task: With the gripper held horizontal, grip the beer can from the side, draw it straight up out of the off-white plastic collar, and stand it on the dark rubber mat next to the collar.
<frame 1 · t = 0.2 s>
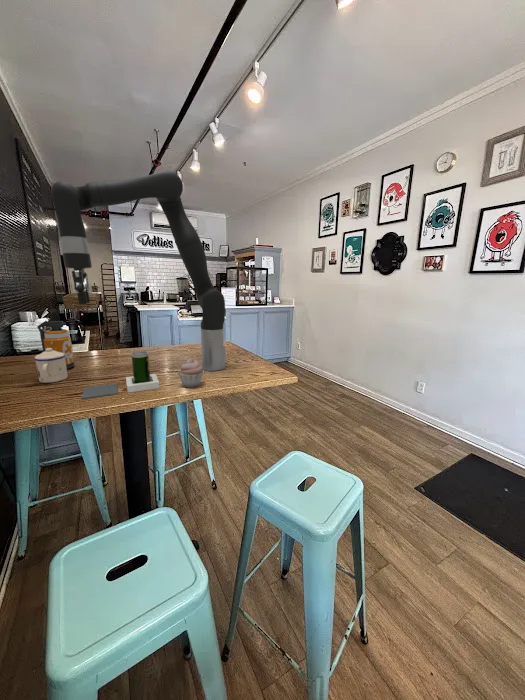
hand: (84, 303, 95), 28 cm above the table, tool pointing down, fingers open, 8 cm apart
canister: (59, 368, 117), on the table
cupcake: (191, 385, 102), on the table
collar: (142, 385, 100), on the table
mat: (100, 391, 94), on the table
beer can: (142, 386, 100), resting in collar
teacup with lid: (52, 380, 104), on the table
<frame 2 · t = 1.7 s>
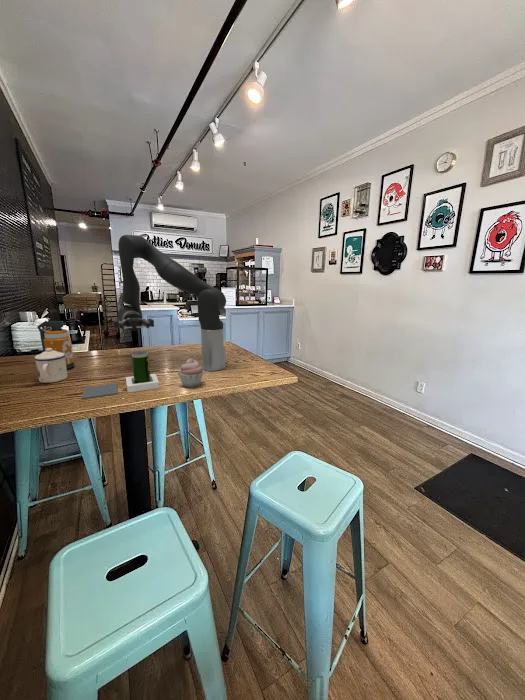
hand: (135, 326, 105), 20 cm above the table, tool horizontal, fingers open, 8 cm apart
nothing on the table moved.
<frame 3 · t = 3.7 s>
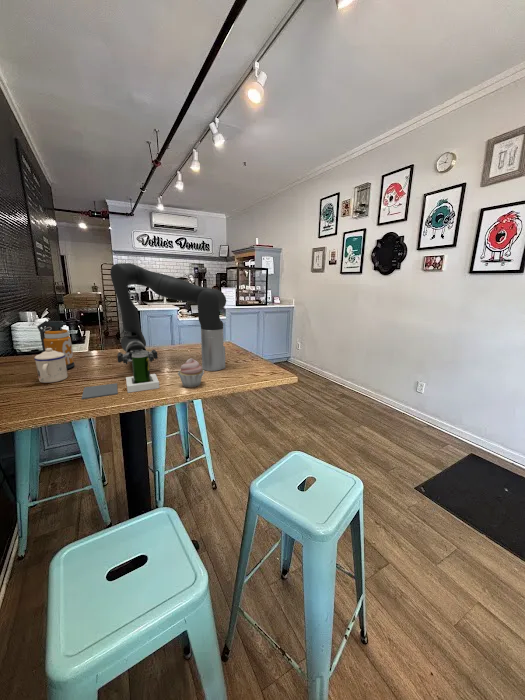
hand: (139, 360, 105), 7 cm above the table, tool horizontal, fingers open, 8 cm apart
nothing on the table moved.
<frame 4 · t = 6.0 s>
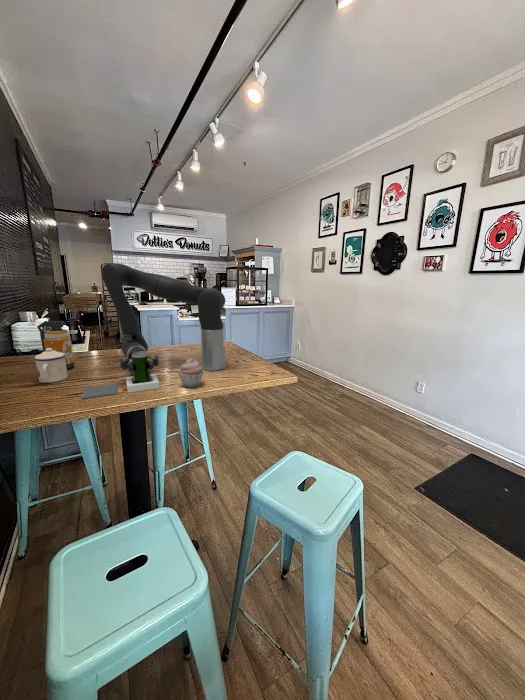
hand: (141, 368, 96), 7 cm above the table, tool horizontal, fingers closed on beer can, 5 cm apart
beer can: (142, 386, 100), resting in collar, touching gripper
everything else where it was.
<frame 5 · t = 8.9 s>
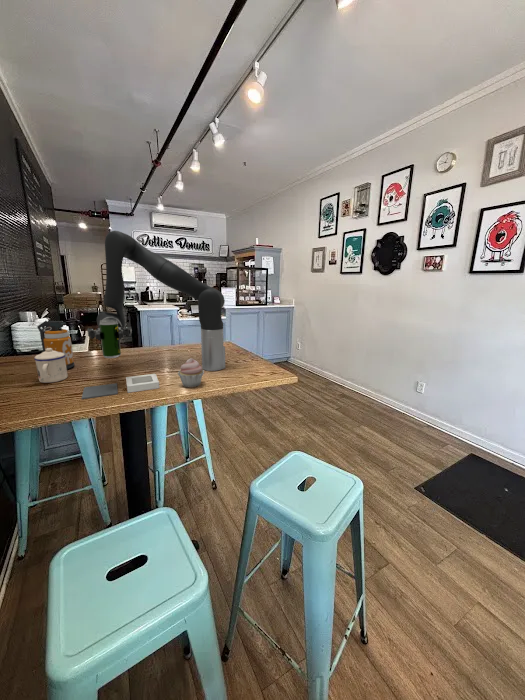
hand: (109, 336, 90), 19 cm above the table, tool horizontal, fingers closed on beer can, 5 cm apart
beer can: (112, 356, 94), point 11 cm above the table, touching gripper
everything else where it was.
when the fingers open (8 cm above the table, at t = 11.7 s): beer can stays where it is, resting on mat.
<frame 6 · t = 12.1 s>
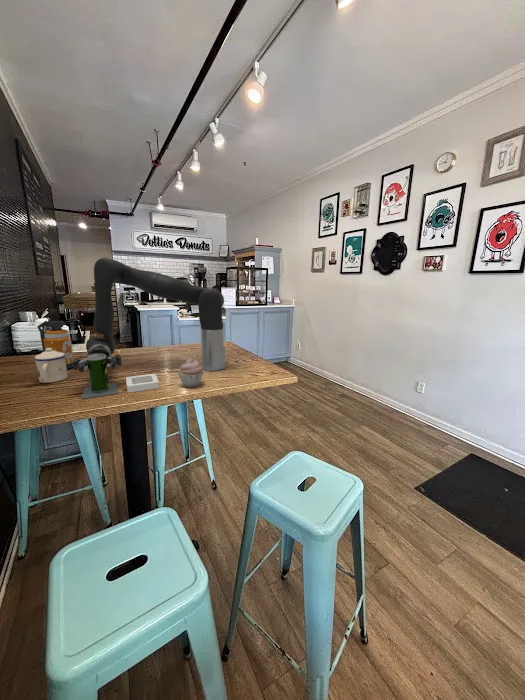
hand: (97, 367, 91), 9 cm above the table, tool horizontal, fingers open, 8 cm apart
beer can: (100, 390, 95), resting on mat
everything else where it was.
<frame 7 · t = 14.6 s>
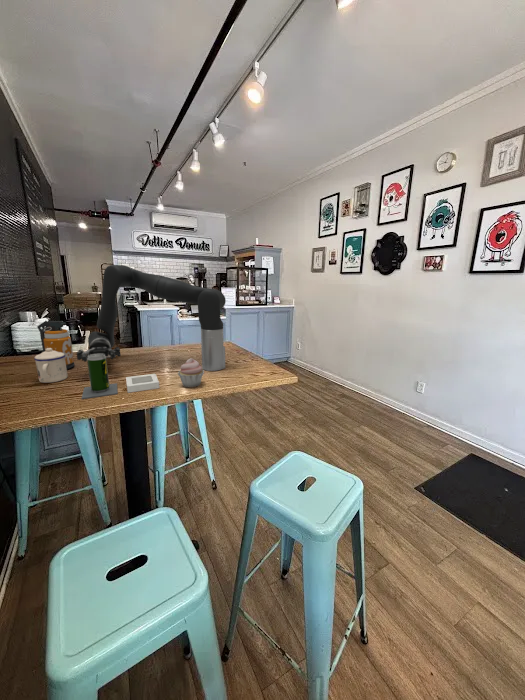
hand: (98, 357, 102), 9 cm above the table, tool horizontal, fingers open, 8 cm apart
nothing on the table moved.
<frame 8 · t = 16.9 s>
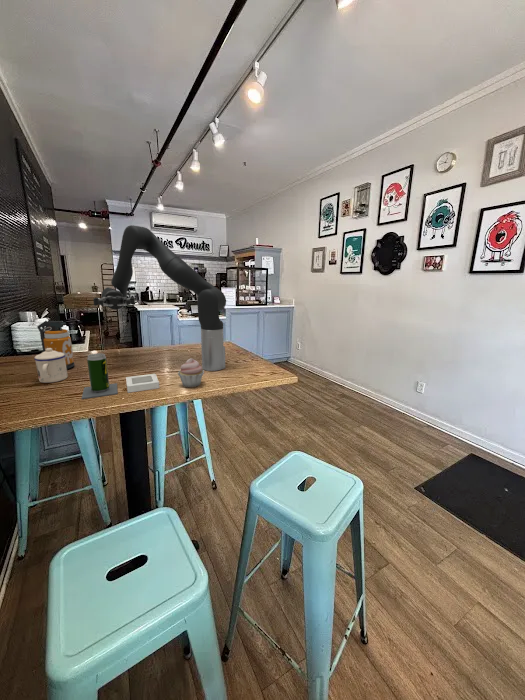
hand: (115, 302, 105), 28 cm above the table, tool horizontal, fingers open, 8 cm apart
nothing on the table moved.
at the end: beer can 0.2 cm off-centre on the mat, point 0.2 cm above the mat's base; beer can tilted 0°; the gripper is holding nothing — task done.
